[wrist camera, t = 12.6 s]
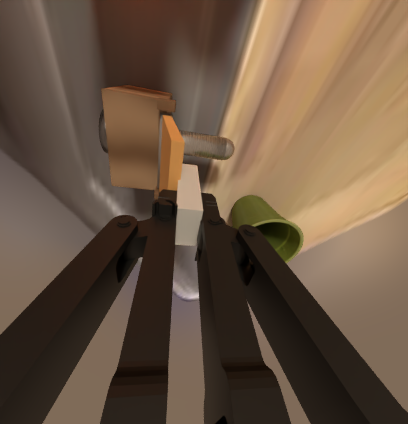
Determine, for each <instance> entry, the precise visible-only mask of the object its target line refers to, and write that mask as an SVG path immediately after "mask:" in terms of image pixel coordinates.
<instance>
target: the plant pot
mask: <svg viewBox="0 0 408 424" xmlns="http://www.w3.org/2000/svg"><path fill="white" fill-rule="evenodd" d="M244 224H247V225H252V226H254V227H256V228H257V229H258V230H259V231H260V232H261V233H262V234H263V236H264V237H265V238H266V239H267V241H268V242H269V243H270V244H271V245H272V247H273V248H274V249H275V250H276V252H277V253H278V254H279V255H280V257H281V258H282V259H283V260H284V262H285V263H288V262H289V261H290V260H292V259H293V258H294V257H295V256H296V255H297V254H298V252H299V251H300V249H301V247H302V245H303V239H304V238H303V233H302V231H301V229H300V228H299V227H298V226H297V225H296V224H294V223H292V222H290V221H288V220H286V219H285V218H283V217H281V216H280V215H279V214H278V213H277V212H276V211H275V210H274V209H273V208H272V207H270V206H269V205H268V204H267V203H266V202H265V201H264V200H263V199H262V198H260V197H258V196H254V195H249V196H245V197H242V198H241V199H239V200H238V201H237V202H236V203H235V205H234V206H233V208H232V227H233V228H236V229H238V228H239V227H240V226H241V225H244Z"/></svg>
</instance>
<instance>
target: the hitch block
mask: <svg viewBox="0 0 408 424" xmlns="http://www.w3.org/2000/svg"><path fill="white" fill-rule="evenodd" d="M101 90H102V99H103V108H104V117H105V127H106V136H107V145H108V154H109V163H110V173H111V182H112V186H120V187H129V188H139V189H148V190H155V192H154V199H158V196H159V188H157V176H158V151H159V127H160V113H161V112H163V113H169V114H171V112H175V108H176V100H172V93H167V92H162V91H156V90H151V89H146V88H141V87H136V86H131V85H123V86H117V87H110V88H104V89H101Z"/></svg>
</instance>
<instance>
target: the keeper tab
mask: <svg viewBox="0 0 408 424" xmlns="http://www.w3.org/2000/svg"><path fill="white" fill-rule="evenodd" d="M172 117H173V115H172V114H169V113H163V112H161V113H160V127H159V151H158V176H157V188H159V192H160V191H162V190H163V189H166V190H175V191H177V187H178V180H181V171H182V162H183V154H184V145H185V142H184V140H183V138H182V136H181V134H180V132H179V130H178V128H177V126H176V124H175V122H174V120H173V118H172Z"/></svg>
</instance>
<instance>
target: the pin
mask: <svg viewBox="0 0 408 424" xmlns="http://www.w3.org/2000/svg"><path fill="white" fill-rule="evenodd" d="M179 132H180V134H181V136H182V138H183V140H184V142H185V145H184V154H183V155H189V156H196V157H203V158H210V159H217V160H227V159H229V158H230V157H231V156H232V155H233V153H234V144H233V142H232V141H231V140H229V139H227V138H224V137H218V136H212V135H206V134H200V133H194V132H188V131H182V130H179ZM99 137H100V142H101V146H102V148H103V150H104V152H106V153H108V145H107V136H106V127H105V117H104V109H103V110H102V112H101V115H100V119H99Z"/></svg>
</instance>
